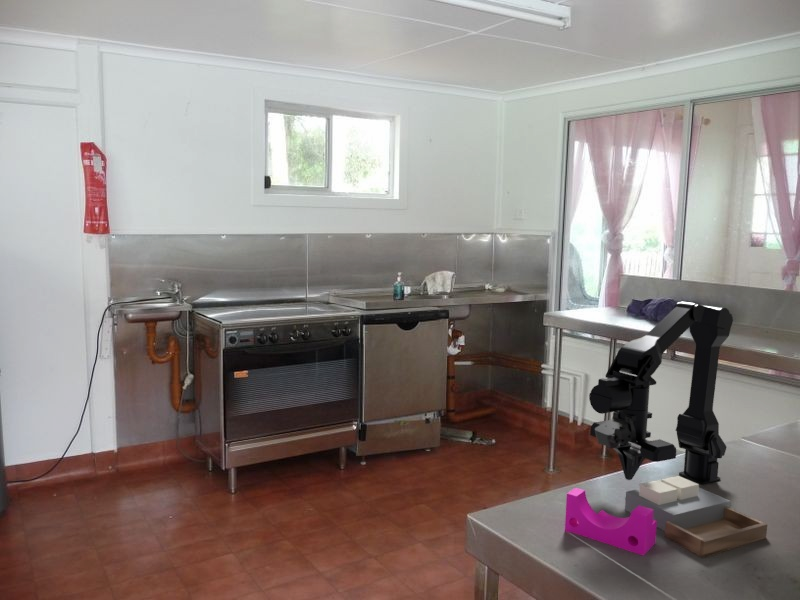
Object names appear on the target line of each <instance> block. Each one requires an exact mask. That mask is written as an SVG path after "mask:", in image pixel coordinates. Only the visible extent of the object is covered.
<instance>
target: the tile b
mask: <svg viewBox="0 0 800 600" xmlns="http://www.w3.org/2000/svg"><path fill="white" fill-rule="evenodd" d="M660 481H661V482H663V483H665V484H667V485H670V486H672V487H674V488H676V489H678V492H677V499H680V500H682V499H686V498H691V497H695V496H698V488H699V487H700V483H698V482H695V481H693V480H690V479H688V478H686V477H683V476H681V475H676V476H671V477H667V478H662V479H661V480H660Z"/></svg>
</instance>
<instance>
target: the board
mask: <svg viewBox="0 0 800 600" xmlns="http://www.w3.org/2000/svg"><path fill="white" fill-rule="evenodd" d="M639 489H640V488H638V489H637V488H636V489H632V490H628V491H626V492H625V503H624V510H625V511H627V513H629V514H631V512H632V511H633V510H634V509H635V508H636V507H637V506H643V507H646V508H650V509H653V520H656V521H657V527H656V528H658V529H660V530H662V531H664V532H665V525H666V522H668V521H669V522H671V523H673V524H675V525H677V526H679V527H681V528H683V529H687V528H690V527H694V526H698V525H702V524H706V523H709V522H713V521H717V520H721V519H723V517H724V507H729V508H731V503H732V501H731V500H730V499H729V498H728V499H727V498H725V497H723V496H720V495H718V494H715V493H713V492H712V491H708V489H707V490H706V489H704V488H702V487H700V486H699V488H698V496H695V497H691V498H686V499H682V500H680V499H677V501H674V502H669V503H665V504H661V505H658V504H656V503H654V502H651V501H649V500H647V499H645V498H643V497H641V496H639Z"/></svg>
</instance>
